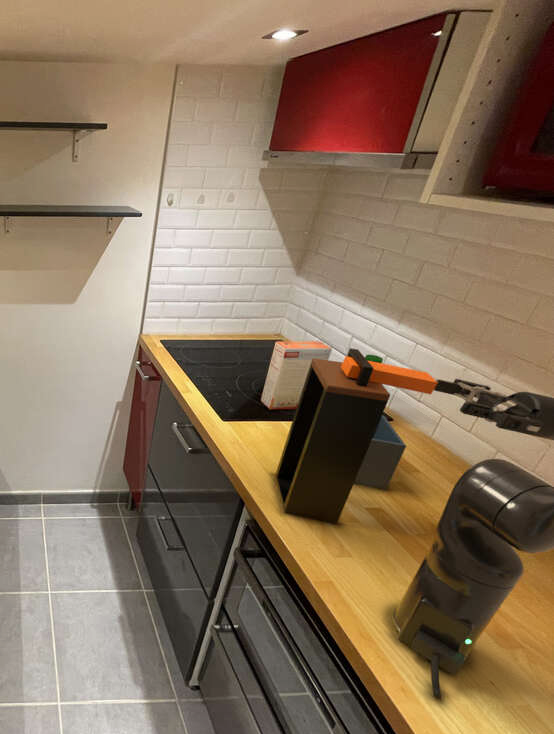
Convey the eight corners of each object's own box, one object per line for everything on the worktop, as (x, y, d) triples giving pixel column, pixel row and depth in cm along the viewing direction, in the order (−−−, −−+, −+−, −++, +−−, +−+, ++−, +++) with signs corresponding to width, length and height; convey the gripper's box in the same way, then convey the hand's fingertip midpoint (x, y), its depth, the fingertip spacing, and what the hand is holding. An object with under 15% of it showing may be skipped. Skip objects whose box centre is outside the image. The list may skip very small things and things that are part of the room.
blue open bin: (367, 456, 117) (384, 415, 111) (386, 489, 105) (406, 446, 100) (309, 445, 121) (323, 405, 115) (321, 476, 109) (337, 433, 104)
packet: (420, 384, 87) (427, 372, 86) (431, 394, 83) (438, 382, 82) (340, 367, 91) (345, 355, 90) (346, 376, 87) (352, 364, 86)
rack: (321, 485, 106) (373, 348, 91) (336, 524, 95) (398, 375, 80) (275, 475, 109) (317, 341, 94) (284, 512, 98) (334, 366, 83)
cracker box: (301, 400, 143) (320, 340, 134) (313, 410, 138) (334, 348, 129) (258, 400, 142) (275, 340, 134) (269, 410, 137) (286, 348, 128)
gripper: (528, 381, 85) (436, 361, 87) (597, 422, 73) (487, 397, 75) (503, 413, 89) (415, 393, 91) (565, 457, 76) (461, 433, 78)
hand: (448, 395), depth 83 cm, fingers open, 8 cm apart
